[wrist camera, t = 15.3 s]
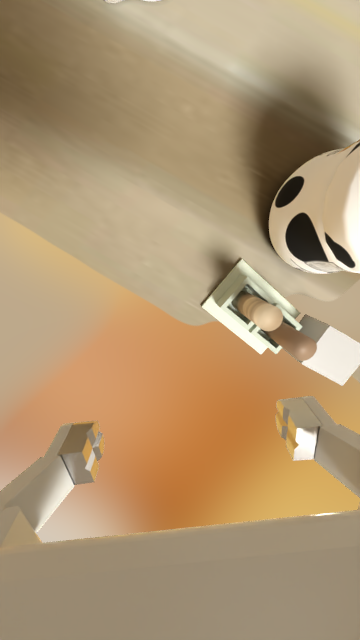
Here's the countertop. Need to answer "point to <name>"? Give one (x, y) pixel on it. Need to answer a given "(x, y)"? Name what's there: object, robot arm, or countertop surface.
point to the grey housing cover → (330, 351)
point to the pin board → (257, 338)
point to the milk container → (320, 214)
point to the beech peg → (258, 311)
